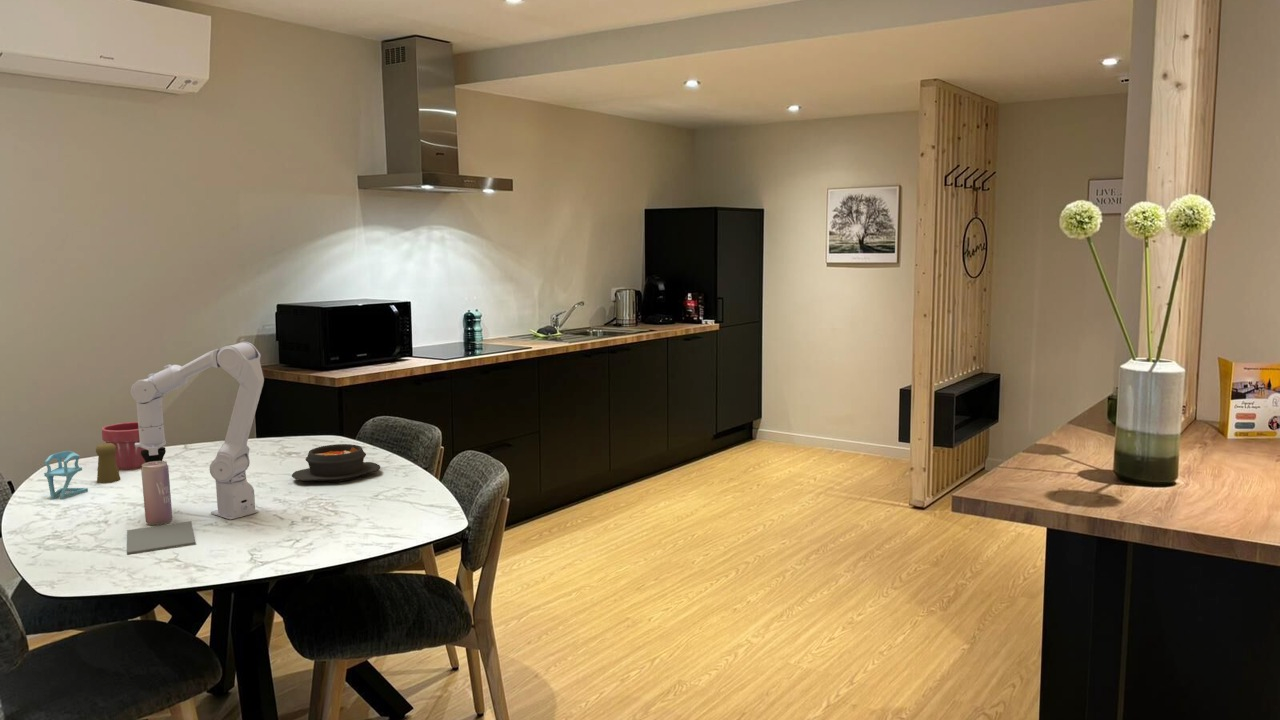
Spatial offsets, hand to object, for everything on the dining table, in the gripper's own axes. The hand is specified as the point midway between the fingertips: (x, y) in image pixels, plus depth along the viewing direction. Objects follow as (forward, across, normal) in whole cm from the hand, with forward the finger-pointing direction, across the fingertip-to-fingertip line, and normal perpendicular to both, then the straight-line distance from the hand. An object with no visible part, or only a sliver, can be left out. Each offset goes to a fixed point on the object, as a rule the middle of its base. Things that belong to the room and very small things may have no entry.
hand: (155, 477), depth 238 cm
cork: (+10, -43, -12) cm, 45 cm away
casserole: (+10, -13, +47) cm, 50 cm away
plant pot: (+10, -59, -6) cm, 60 cm away
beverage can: (+10, +9, 0) cm, 13 cm away
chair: (+10, -31, -22) cm, 40 cm away
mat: (+9, +23, 0) cm, 25 cm away
